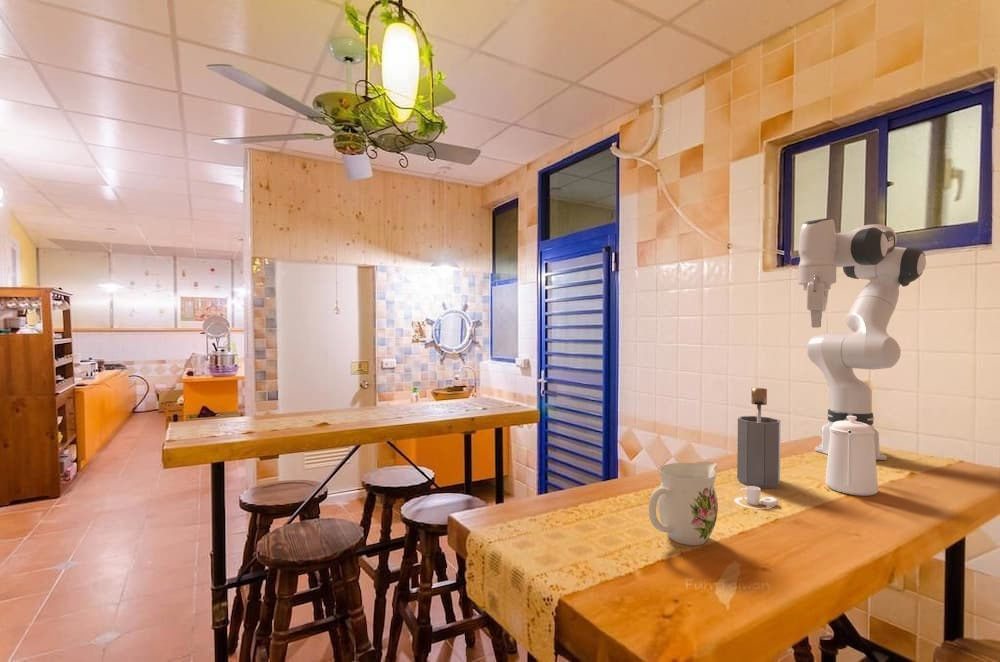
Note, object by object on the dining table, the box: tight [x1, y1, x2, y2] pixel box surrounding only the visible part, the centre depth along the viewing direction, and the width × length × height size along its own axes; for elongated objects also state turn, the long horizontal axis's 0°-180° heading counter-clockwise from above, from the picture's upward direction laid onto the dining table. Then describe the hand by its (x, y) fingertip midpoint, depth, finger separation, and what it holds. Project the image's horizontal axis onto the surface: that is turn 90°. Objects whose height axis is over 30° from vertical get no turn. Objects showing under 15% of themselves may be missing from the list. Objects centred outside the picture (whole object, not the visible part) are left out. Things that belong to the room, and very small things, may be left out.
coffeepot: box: [824, 416, 879, 497], centre depth 124 cm, size 11×25×19 cm, turn 143°
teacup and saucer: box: [733, 485, 779, 511], centre depth 115 cm, size 9×8×4 cm
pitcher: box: [648, 461, 719, 546], centre depth 96 cm, size 11×18×14 cm, turn 119°
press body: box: [736, 415, 782, 490], centre depth 131 cm, size 13×10×17 cm
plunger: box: [750, 387, 768, 422], centre depth 130 cm, size 7×7×24 cm
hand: (816, 327), depth 136 cm, fingers open, 8 cm apart
